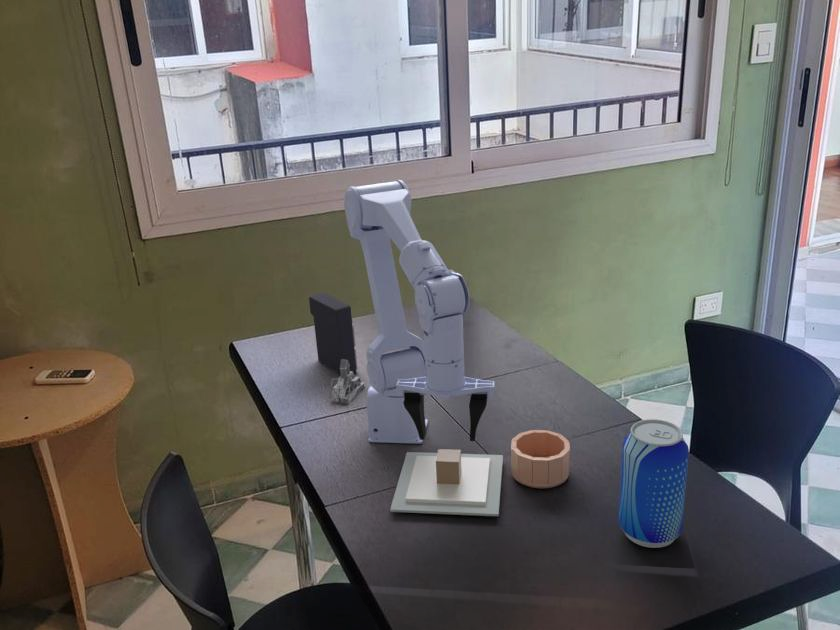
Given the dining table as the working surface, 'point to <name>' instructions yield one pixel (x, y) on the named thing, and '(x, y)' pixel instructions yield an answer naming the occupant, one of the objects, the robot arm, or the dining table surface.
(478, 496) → the cover sheet
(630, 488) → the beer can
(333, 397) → the grey crystal cluster
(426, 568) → the dining table surface
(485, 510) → the mat
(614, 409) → the dining table surface
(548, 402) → the dining table surface
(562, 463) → the bowl
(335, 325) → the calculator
